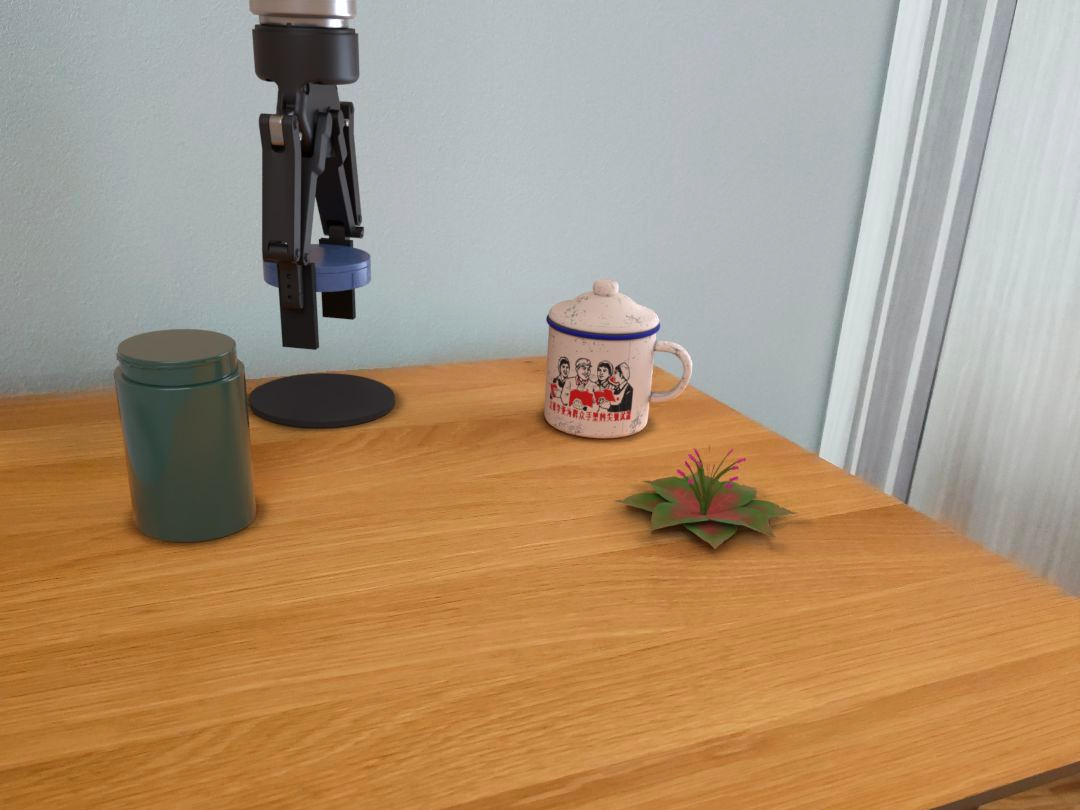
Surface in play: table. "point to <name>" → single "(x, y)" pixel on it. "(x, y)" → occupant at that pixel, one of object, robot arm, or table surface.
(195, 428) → the jar
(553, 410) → the teacup with lid
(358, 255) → the jar lid
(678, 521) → the lily flower
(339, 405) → the coaster
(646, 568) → the table surface
